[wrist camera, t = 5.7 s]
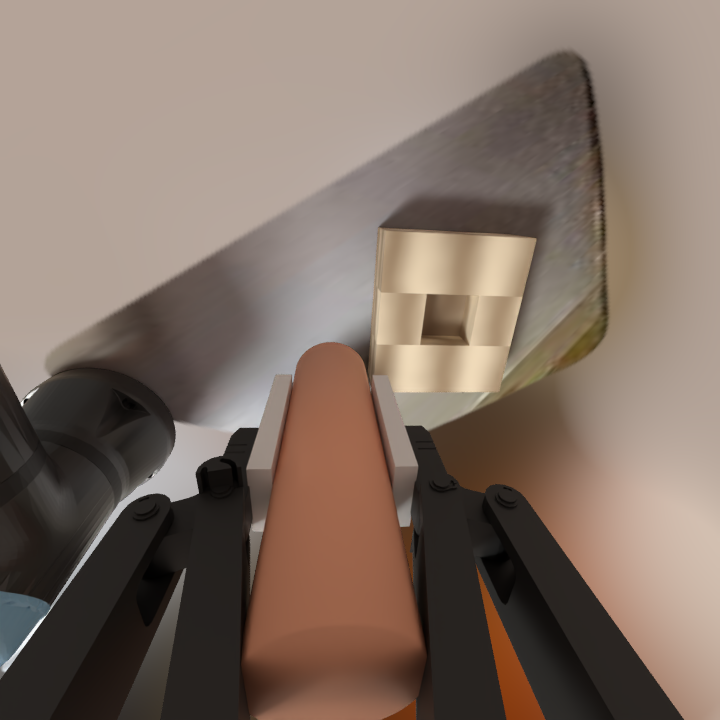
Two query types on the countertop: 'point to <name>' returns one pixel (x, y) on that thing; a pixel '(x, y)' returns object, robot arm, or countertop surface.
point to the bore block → (446, 308)
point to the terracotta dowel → (331, 562)
